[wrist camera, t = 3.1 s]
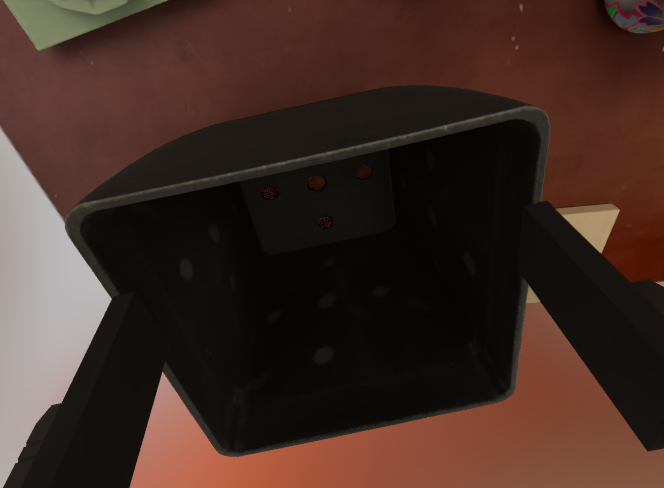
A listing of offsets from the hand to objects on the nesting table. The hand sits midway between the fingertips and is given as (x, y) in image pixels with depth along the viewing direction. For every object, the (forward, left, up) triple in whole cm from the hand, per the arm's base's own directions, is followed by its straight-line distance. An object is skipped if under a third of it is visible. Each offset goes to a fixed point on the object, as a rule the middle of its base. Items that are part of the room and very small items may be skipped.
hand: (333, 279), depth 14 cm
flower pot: (+1, +6, -20) cm, 21 cm away
